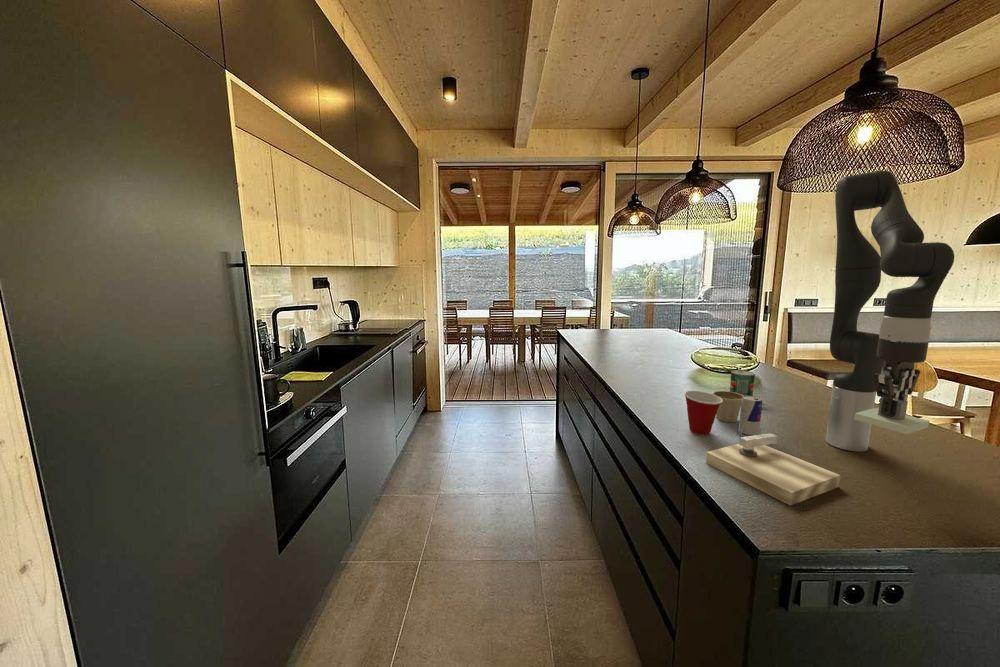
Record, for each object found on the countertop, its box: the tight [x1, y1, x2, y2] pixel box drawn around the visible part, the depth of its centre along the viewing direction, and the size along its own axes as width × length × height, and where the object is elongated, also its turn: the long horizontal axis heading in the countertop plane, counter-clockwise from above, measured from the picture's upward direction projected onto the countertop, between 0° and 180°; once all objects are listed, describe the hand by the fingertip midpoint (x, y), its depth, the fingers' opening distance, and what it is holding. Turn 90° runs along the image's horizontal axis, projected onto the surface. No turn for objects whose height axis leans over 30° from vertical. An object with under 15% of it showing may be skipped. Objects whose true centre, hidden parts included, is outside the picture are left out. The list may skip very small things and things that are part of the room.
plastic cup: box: [684, 390, 723, 436], centre depth 122 cm, size 11×11×12 cm
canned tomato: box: [729, 369, 756, 396], centre depth 153 cm, size 8×8×11 cm
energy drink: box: [738, 395, 763, 437], centre depth 119 cm, size 5×5×12 cm
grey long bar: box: [738, 432, 778, 453], centre depth 102 cm, size 2×10×4 cm, turn 105°
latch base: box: [705, 443, 841, 506], centre depth 97 cm, size 18×21×4 cm
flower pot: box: [712, 390, 743, 423], centre depth 133 cm, size 9×9×9 cm
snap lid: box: [854, 397, 930, 435], centre depth 86 cm, size 9×9×6 cm
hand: (891, 414), depth 86 cm, fingers closed on snap lid, 2 cm apart
